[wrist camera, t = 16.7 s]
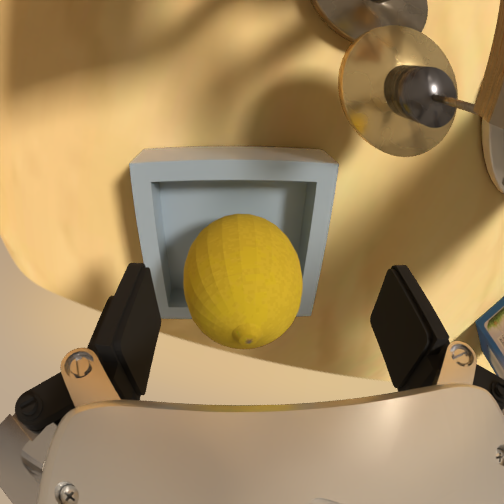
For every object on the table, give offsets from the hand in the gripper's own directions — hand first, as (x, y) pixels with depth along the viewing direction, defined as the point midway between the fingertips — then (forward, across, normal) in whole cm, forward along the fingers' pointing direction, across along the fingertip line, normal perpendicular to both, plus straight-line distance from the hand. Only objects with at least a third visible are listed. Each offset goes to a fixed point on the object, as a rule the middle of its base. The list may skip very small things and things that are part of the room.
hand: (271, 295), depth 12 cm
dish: (+8, +2, +1) cm, 8 cm away
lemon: (+7, +1, +1) cm, 7 cm away
